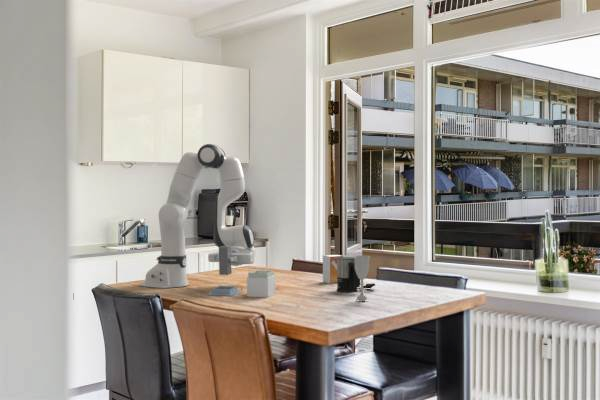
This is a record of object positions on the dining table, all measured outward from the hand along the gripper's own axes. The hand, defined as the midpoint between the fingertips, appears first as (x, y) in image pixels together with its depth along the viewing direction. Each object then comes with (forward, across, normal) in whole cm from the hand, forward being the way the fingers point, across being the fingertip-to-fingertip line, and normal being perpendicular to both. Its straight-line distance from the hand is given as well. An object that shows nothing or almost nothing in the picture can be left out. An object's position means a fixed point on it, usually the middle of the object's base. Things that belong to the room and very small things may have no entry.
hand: (224, 259), depth 272 cm
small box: (-45, +38, +16) cm, 60 cm away
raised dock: (-1, +16, +15) cm, 22 cm away
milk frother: (-24, +53, +16) cm, 60 cm away
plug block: (-1, 0, +6) cm, 7 cm away
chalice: (+1, +60, +16) cm, 63 cm away
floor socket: (-1, 0, +15) cm, 15 cm away
